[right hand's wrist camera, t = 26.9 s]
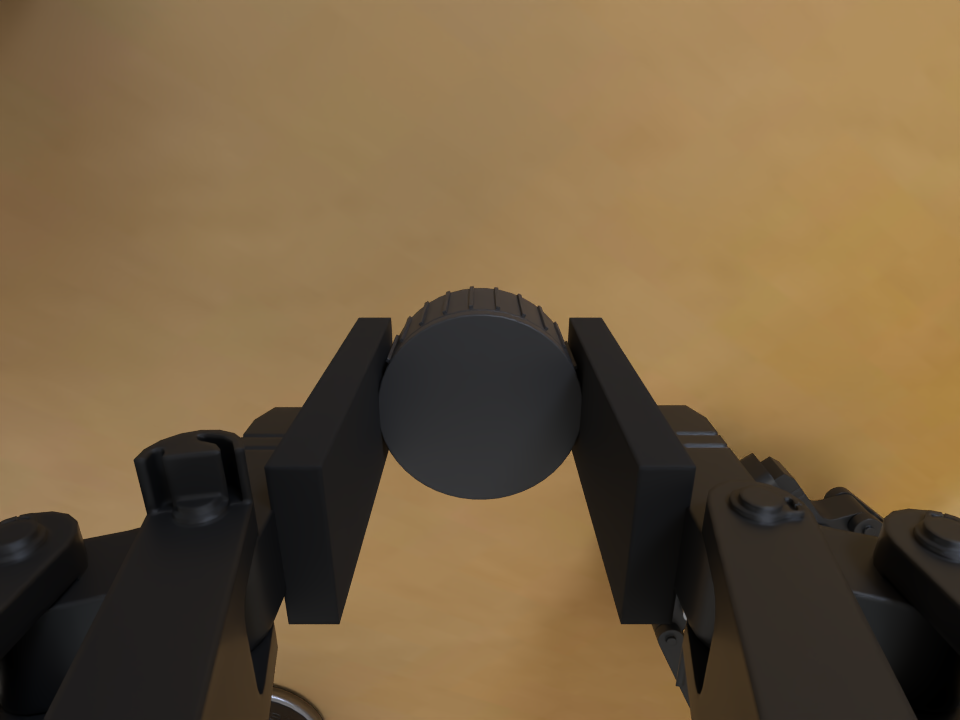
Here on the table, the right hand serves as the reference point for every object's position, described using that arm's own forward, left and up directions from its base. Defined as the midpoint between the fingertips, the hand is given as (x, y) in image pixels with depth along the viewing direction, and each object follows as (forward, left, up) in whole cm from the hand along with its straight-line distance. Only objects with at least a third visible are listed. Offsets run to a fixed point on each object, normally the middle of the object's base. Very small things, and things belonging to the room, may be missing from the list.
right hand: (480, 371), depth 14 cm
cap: (0, 0, +2) cm, 2 cm away
